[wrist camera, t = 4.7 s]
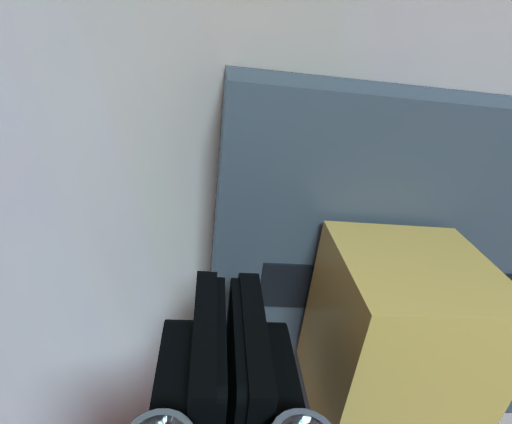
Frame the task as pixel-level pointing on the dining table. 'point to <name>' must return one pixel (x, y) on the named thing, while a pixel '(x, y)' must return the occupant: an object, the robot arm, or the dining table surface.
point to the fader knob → (405, 328)
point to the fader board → (351, 174)
